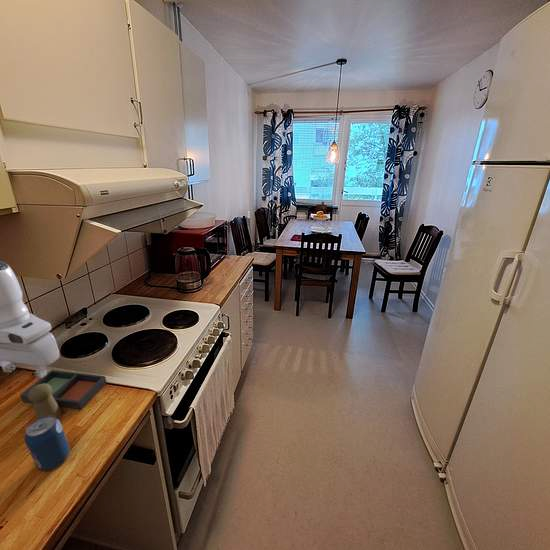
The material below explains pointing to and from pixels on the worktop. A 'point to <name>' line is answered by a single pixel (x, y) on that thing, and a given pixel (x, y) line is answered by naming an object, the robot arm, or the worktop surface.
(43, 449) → the soda can
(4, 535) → the worktop surface
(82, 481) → the worktop surface
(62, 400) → the sorting tray
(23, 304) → the robot arm
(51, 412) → the olive green rounded piece
